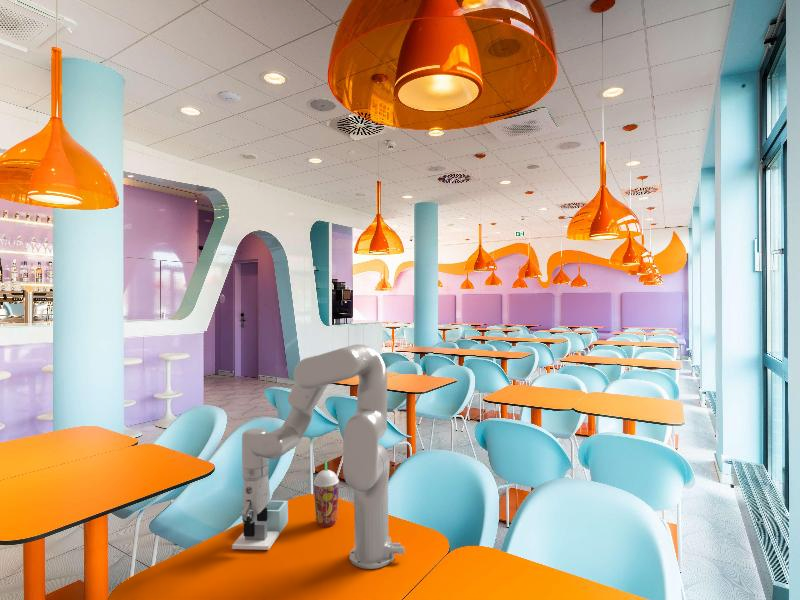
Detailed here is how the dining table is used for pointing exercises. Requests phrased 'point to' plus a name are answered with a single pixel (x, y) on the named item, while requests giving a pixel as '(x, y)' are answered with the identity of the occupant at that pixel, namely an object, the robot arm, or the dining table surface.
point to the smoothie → (326, 497)
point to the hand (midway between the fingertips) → (255, 528)
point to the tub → (275, 515)
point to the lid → (257, 538)
